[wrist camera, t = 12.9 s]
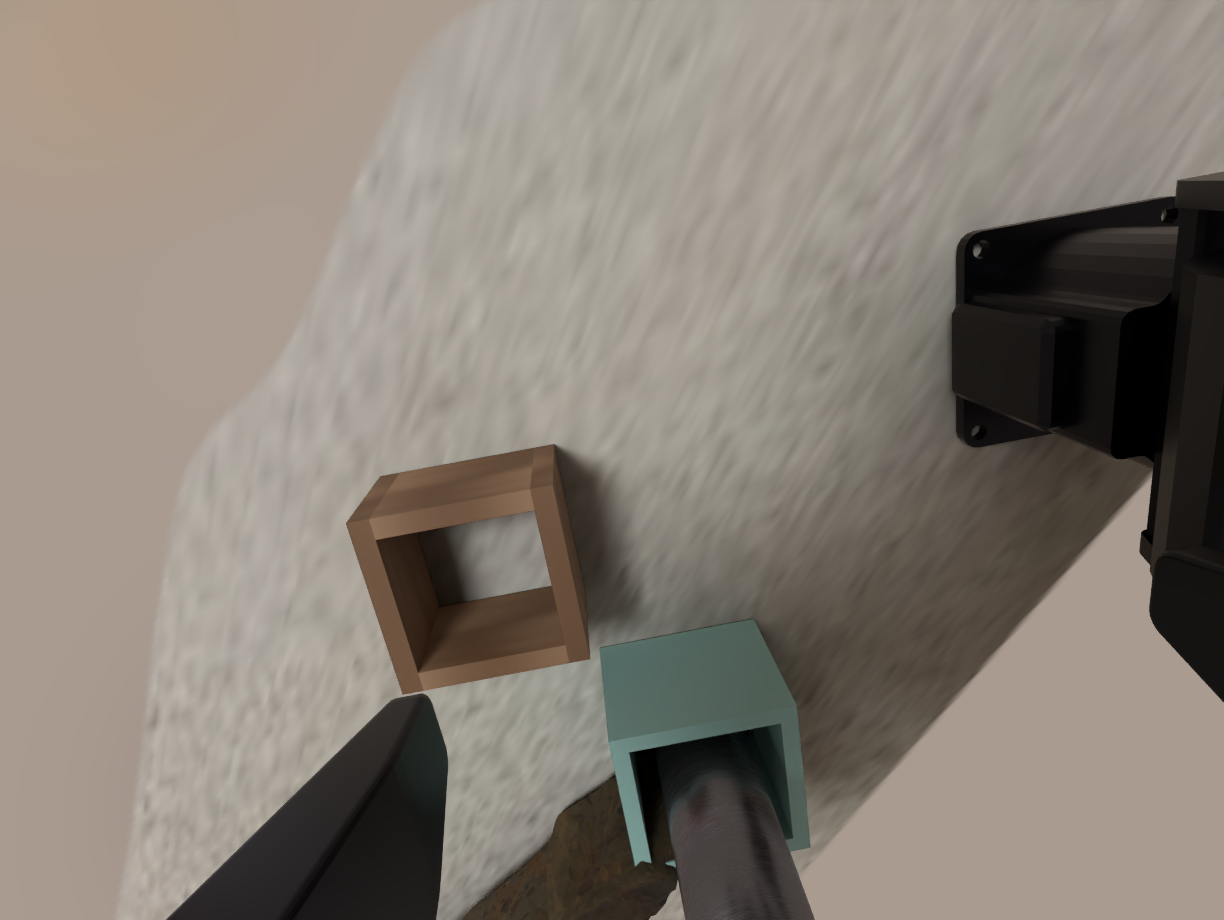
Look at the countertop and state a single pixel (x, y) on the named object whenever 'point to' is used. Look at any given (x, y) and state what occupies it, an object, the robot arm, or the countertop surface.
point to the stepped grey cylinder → (727, 833)
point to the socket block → (482, 629)
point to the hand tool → (593, 863)
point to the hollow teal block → (703, 714)
